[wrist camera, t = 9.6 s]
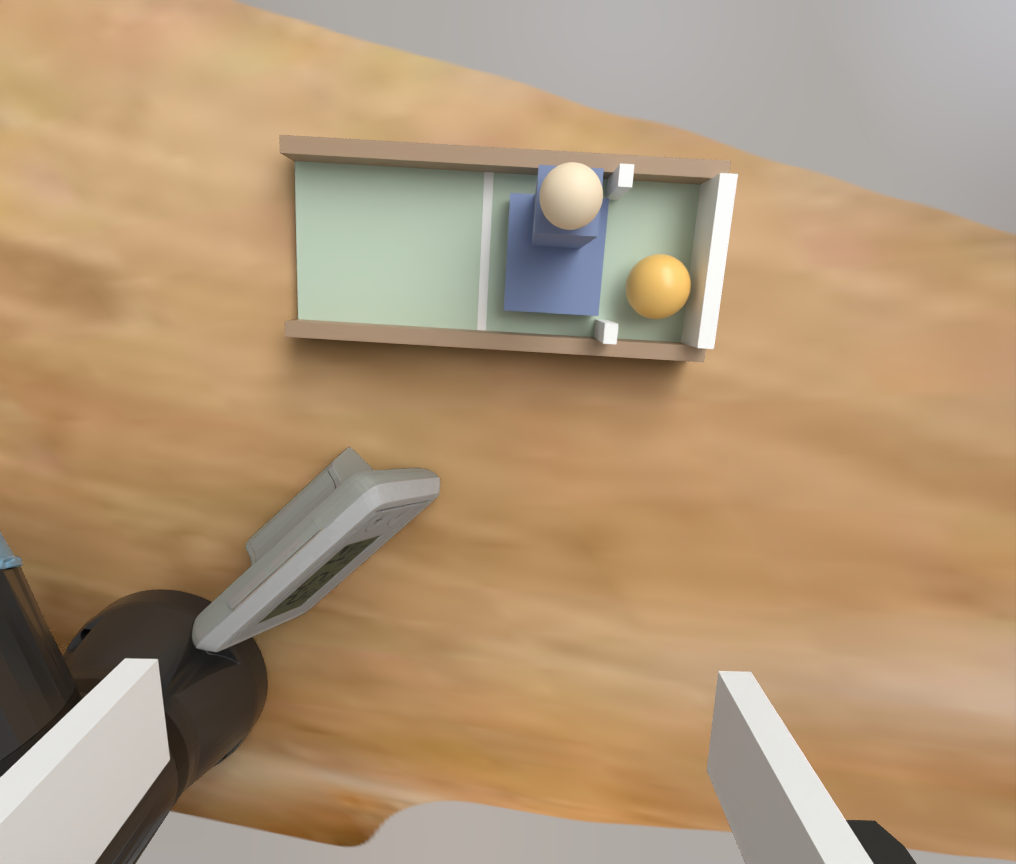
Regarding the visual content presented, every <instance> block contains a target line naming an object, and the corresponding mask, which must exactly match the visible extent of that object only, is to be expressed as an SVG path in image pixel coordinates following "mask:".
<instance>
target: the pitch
mask: <svg viewBox="0 0 1016 864" xmlns="http://www.w3.org/2000/svg"><path fill="white" fill-rule="evenodd" d="M279 136H280V153H281V154H283V155H285V156H286V157H288V158H290V159H292V160H294V161H295V200H296V245H297V289H298V319H296V320H288V321H285V337H298V338H314V339H330V340H347V341H363V342H380V343H396V344H413V345H429V346H445V347H462V348H478V349H495V350H511V351H528V352H544V353H560V354H577V355H593V356H610V357H626V358H643V359H659V360H675V361H692V362H704V358H705V351H706V349H714V344H715V337H716V329H717V322H718V315H719V308H720V300H721V293H722V286H723V278H724V271H725V264H726V257H727V249H728V242H729V235H730V227H731V220H732V213H733V206H734V198H735V191H736V184H737V176H738V174H730V173H729V172H730V164H731V161H724V160H707V159H689V158H672V157H655V156H637V155H620V154H603V153H585V152H568V151H551V150H533V149H516V148H499V147H481V146H464V145H447V144H429V143H412V142H395V141H377V140H360V139H343V138H325V137H308V136H291V135H279ZM568 162H576V163H581V164H584V165H586V166H588V167H589V168H604V173H603V184H602V189H603V198H607V199H609V206H608V217H607V228H606V239H605V250H604V261H603V272H602V282H601V293H600V304H599V315H598V316H589V315H573V314H556V313H539V312H523V311H506V310H504V297H505V279H506V261H507V243H508V225H509V207H510V193H521V194H535V190H536V183H537V175H538V167H539V165H553V166H558V165H561V164H564V163H568ZM655 254H666V255H670V256H672V257H675V258H676V259H678V260H679V261H680V262H682V263H683V265H684V266H685V267H686V269H687V271H688V273H689V275H690V280H691V290H690V294H689V297H688V299H687V301H686V303H685V304H684V306H683V307H682V308H681V309H680V310H679V311H678V312H676V313H675V314H673V315H672V316H669V317H667V318H663V319H650V318H646V317H644V316H641V315H640V314H638V313H637V312H636V311H635V310H634V309H633V308H632V307H631V305H630V304H629V302H628V299H627V296H626V281H627V277H628V275H629V273H630V271H631V269H632V268H633V267H634V266H635V265H636V264H637V263H638V262H639V261H640V260H642V259H643V258H645V257H648V256H650V255H655Z"/></svg>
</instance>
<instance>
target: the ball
mask: <svg viewBox="0 0 1016 864" xmlns="http://www.w3.org/2000/svg"><path fill="white" fill-rule="evenodd" d="M690 290H691V280H690V275H689V273H688V271H687V269H686V267H685V266H684V265H683V263H682V262H680V261H679V260H678V259H676V258H675V257H672V256H670V255H666V254H655V255H650V256H648V257H645V258H643V259H642V260H640V261H639V262H638V263H637V264H636V265H635V266H634V267H633V268H632V269H631V271H630V273H629V275H628V277H627V281H626V296H627V299H628V302H629V304H630V305H631V307H632V308H633V309H634V310H635V311H636V312H637V313H638V314H640V315H641V316H644V317H646V318H650V319H663V318H667V317H669V316H672V315H673V314H675V313H676V312H678V311H679V310H680V309H681V308H682V307H683V306H684V304H685V303H686V301H687V299H688V297H689V294H690Z"/></svg>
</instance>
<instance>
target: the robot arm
mask: <svg viewBox="0 0 1016 864" xmlns="http://www.w3.org/2000/svg"><path fill="white" fill-rule="evenodd" d="M21 565H23V563H22V560H21V559H20V557H17V556H14V554H13V552H12V550H11V549H10V547H9V545H8V544H7V542H6V540H5V539H4V537H3V535H2V533H1V532H0V864H136V862H137V860H138V859H139V857H140V856H141V854H142V853H143V851H144V850H145V848H146V847H147V845H148V844H149V842H150V841H151V839H152V838H153V836H154V835H155V833H156V831H157V830H158V828H159V827H160V825H161V824H162V822H163V821H164V819H165V818H166V816H167V815H168V813H169V811H170V810H171V808H172V807H173V806H174V804H175V803H176V801H177V800H178V798H179V797H180V795H181V794H182V792H183V791H184V790H186V789H187V788H188V787H189V786H190V785H192V784H193V783H194V782H195V781H196V780H198V779H199V778H200V777H201V776H202V775H204V774H205V773H206V772H207V771H208V770H210V769H211V768H212V767H214V766H215V765H217V764H219V763H220V762H222V761H223V760H224V759H226V758H227V757H228V756H230V755H231V754H232V753H233V752H234V751H235V750H236V749H237V748H238V747H239V746H240V745H241V744H242V742H243V741H244V740H245V739H246V737H247V736H248V734H249V732H250V731H251V729H252V728H253V726H254V724H255V723H256V721H257V719H258V718H259V716H260V714H261V712H262V710H263V707H264V704H265V700H266V695H267V673H266V667H265V663H264V660H263V657H262V655H261V652H260V650H259V648H258V646H257V644H256V643H255V641H254V639H253V638H252V637H251V638H249V639H246V640H244V641H242V642H240V643H237V644H235V645H233V646H231V647H228V648H226V649H223V650H221V651H218V652H212V651H207V650H202V649H198V648H196V646H195V645H194V643H193V640H192V629H193V625H194V621H195V619H196V617H197V616H198V615H199V614H200V613H201V612H202V611H203V610H204V609H205V608H206V607H207V606H208V605H210V604H211V603H212V602H210V601H208V600H206V599H204V598H201V597H198V596H196V595H192V594H189V593H185V592H180V591H173V590H149V591H142V592H138V593H134V594H131V595H128V596H125V597H123V598H121V599H119V600H117V601H115V602H114V603H112V604H111V605H109V606H108V607H106V608H105V609H104V610H103V611H101V612H100V613H99V614H97V615H96V616H95V617H94V618H92V619H91V620H90V621H88V622H87V623H86V624H85V625H84V626H83V627H82V628H81V630H80V631H79V632H78V633H77V634H76V635H75V637H74V638H73V640H72V641H71V643H70V645H69V646H68V648H67V650H66V652H65V653H64V655H63V656H62V654H61V652H60V650H59V648H58V646H57V644H56V642H55V640H54V638H53V636H52V634H51V632H50V630H49V627H48V625H47V623H46V621H45V619H44V617H43V615H42V613H41V611H40V608H39V606H38V604H37V602H36V600H35V597H34V595H33V593H32V591H31V589H30V586H29V584H28V582H27V580H26V578H25V575H24V573H23V571H22V569H21V567H20V566H21ZM707 772H708V775H709V777H710V780H711V782H712V784H713V787H714V789H715V792H716V794H717V797H718V799H719V801H720V804H721V806H722V809H723V811H724V813H725V816H726V818H727V821H728V823H729V825H730V828H731V830H732V833H733V835H734V837H735V840H736V842H737V844H738V847H739V849H740V852H741V854H742V857H743V859H744V862H745V864H916V862H915V861H914V860H913V858H912V857H911V855H910V854H909V852H908V851H907V850H906V848H905V847H904V846H903V845H902V844H901V843H900V842H899V841H898V840H896V839H895V838H894V837H893V836H892V835H891V834H890V833H888V832H887V831H886V830H885V829H884V828H883V827H881V826H880V825H879V824H878V823H877V822H876V821H866V820H845V818H844V817H843V815H842V814H841V812H840V811H839V809H838V807H837V806H836V804H835V803H834V801H833V800H832V798H831V796H830V795H829V793H828V792H827V790H826V789H825V787H824V786H823V784H822V782H821V781H820V779H819V778H818V776H817V775H816V773H815V771H814V770H813V768H812V767H811V765H810V764H809V762H808V760H807V759H806V757H805V756H804V754H803V753H802V751H801V750H800V748H799V746H798V745H797V743H796V742H795V740H794V739H793V737H792V735H791V734H790V732H789V731H788V729H787V728H786V726H785V725H784V723H783V721H782V720H781V718H780V717H779V715H778V714H777V712H776V710H775V709H774V707H773V706H772V704H771V703H770V701H769V699H768V698H767V696H766V695H765V693H764V692H763V690H762V689H761V687H760V685H759V684H758V682H757V681H756V679H755V678H754V676H753V674H752V673H751V672H731V671H718V679H717V687H716V696H715V704H714V713H713V721H712V730H711V739H710V747H709V756H708V764H707Z"/></svg>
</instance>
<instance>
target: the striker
mask: <svg viewBox="0 0 1016 864" xmlns="http://www.w3.org/2000/svg"><path fill="white" fill-rule="evenodd" d="M603 173H604V168H589V167H588V166H586V165H584V164H581V163H576V162H568V163H564V164H561V165H558V166H553V165H539V167H538V175H537V183H536V190H535V194H521V193H510V207H509V225H508V243H507V261H506V279H505V297H504V310H506V311H523V312H539V313H556V314H573V315H589V316H598V315H599V304H600V293H601V282H602V272H603V261H604V250H605V239H606V228H607V217H608V206H609V199H607V198H603V189H602V184H603Z"/></svg>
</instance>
